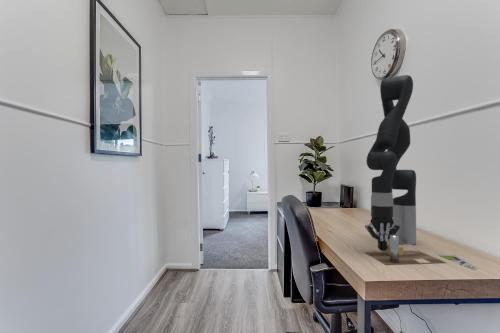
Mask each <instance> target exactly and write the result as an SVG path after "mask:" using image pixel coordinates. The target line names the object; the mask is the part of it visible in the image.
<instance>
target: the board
mask: <svg viewBox="0 0 500 333" xmlns="http://www.w3.org/2000/svg"><path fill="white" fill-rule="evenodd" d="M364 253H365V254H366V255H368V256H369V257H371V258H373V259H375V260H376V261H378V262H379V263H381V264H383V265H385V266H398V265H399V266H402V265H405V266H406V265H429V264H436V265H437V264H447V262H446V261H444V260H441V259H439V258H437V257H434V256H432V255H430V254H427V253H425V252H423V251H420V250H403V255H399V263H393V262H390V255H389V254H387V253H385V252H384V251H364ZM418 260H425V261H428V262H419V261H418Z"/></svg>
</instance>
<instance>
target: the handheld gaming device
mask: <svg viewBox="0 0 500 333" xmlns="http://www.w3.org/2000/svg"><path fill="white" fill-rule="evenodd" d="M434 255H436V256H437V257H440V258H442V259H445V260H448V261H450V262H453V263H455V264H458V265H460V266H463V267H465V268H467V269H470V270H478V268H477V267H476V266H475V265H473V264H471V263H469V262H468V261H466V260H464V259H463V258H460V257H459V256H457V255H455V254H439V253H435V254H434ZM471 266H472V267H471Z"/></svg>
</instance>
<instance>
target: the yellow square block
mask: <svg viewBox="0 0 500 333" xmlns="http://www.w3.org/2000/svg"><path fill="white" fill-rule="evenodd" d="M403 251H404V246H402V244H399V255H403ZM383 252H385V253H387V254H389V255H390V242H387V249H386V251H383Z"/></svg>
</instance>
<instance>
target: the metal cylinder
mask: <svg viewBox="0 0 500 333" xmlns="http://www.w3.org/2000/svg"><path fill="white" fill-rule="evenodd" d="M389 243H390V262H393V263H399V245H400V244H399V236H398V235H393V234H391V235H390V239H389Z"/></svg>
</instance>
